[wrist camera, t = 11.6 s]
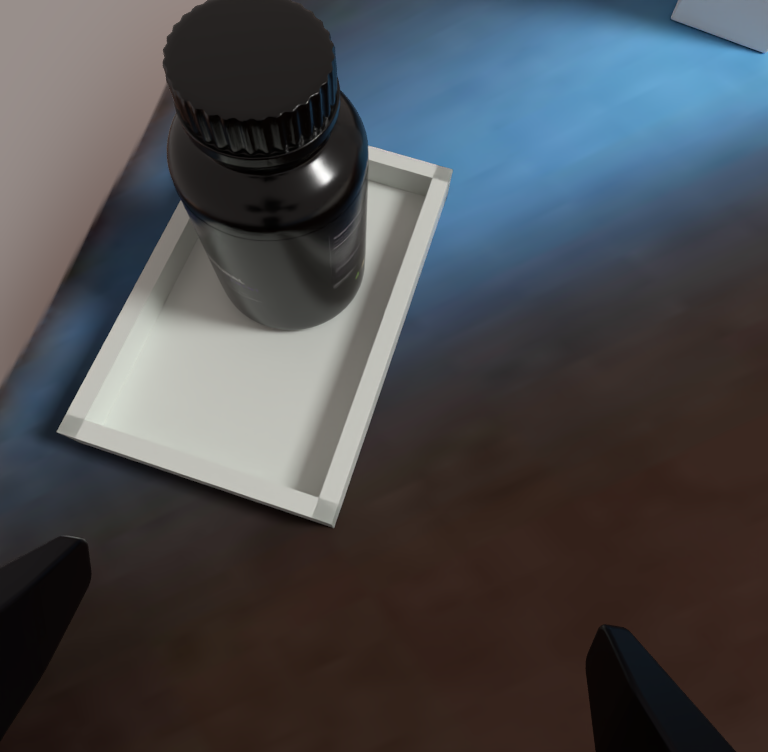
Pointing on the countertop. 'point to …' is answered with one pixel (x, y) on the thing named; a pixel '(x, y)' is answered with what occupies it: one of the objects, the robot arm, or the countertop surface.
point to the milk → (728, 20)
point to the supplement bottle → (269, 158)
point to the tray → (259, 362)
